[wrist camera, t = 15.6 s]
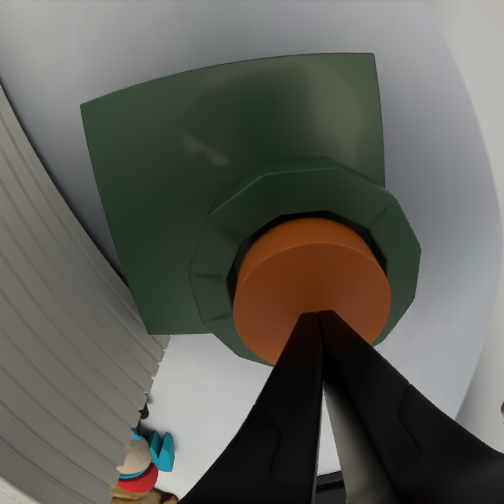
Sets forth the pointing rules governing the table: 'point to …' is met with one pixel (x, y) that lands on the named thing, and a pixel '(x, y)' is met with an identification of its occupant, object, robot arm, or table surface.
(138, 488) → the toy figure
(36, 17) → the table surface
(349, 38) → the table surface
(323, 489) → the rod bracket
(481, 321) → the table surface
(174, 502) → the pastry
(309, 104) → the button block
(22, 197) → the stack of papers
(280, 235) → the button
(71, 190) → the table surface
